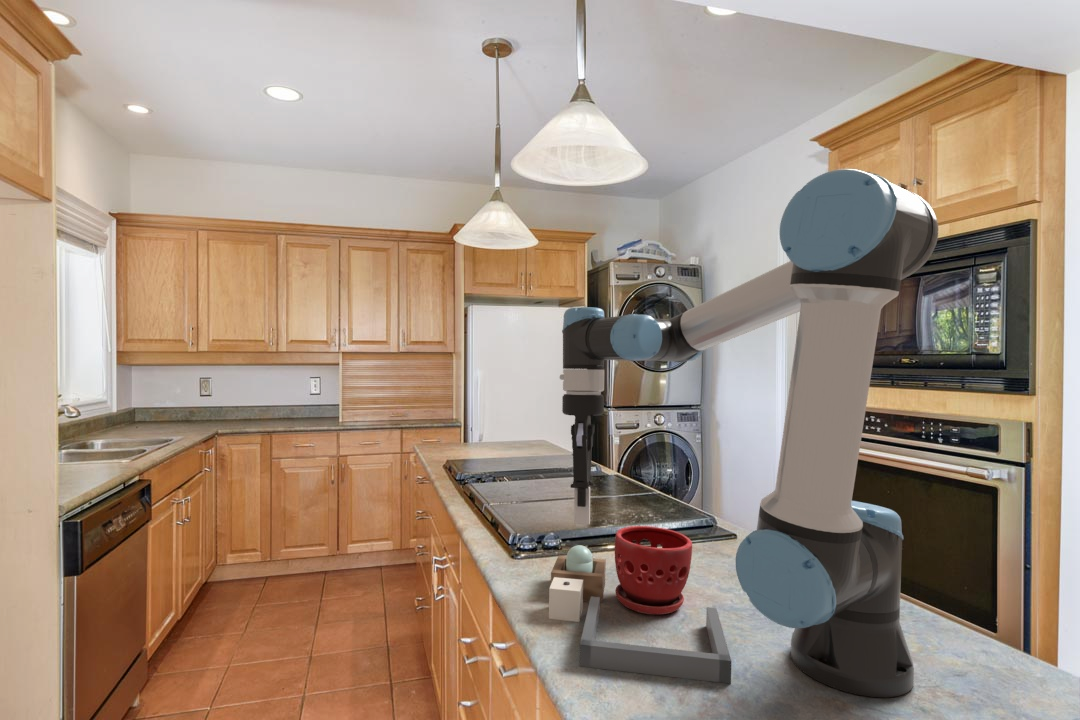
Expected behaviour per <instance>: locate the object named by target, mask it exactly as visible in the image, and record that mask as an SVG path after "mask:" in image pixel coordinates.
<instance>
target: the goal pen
mask: <svg viewBox="0 0 1080 720" xmlns="http://www.w3.org/2000/svg"><path fill="white" fill-rule="evenodd" d="M600 607H601V603H600V597H592V596H591V598H590V602H588V608H587V612H586V616H585V619H584V620H585V621H584V624H583V630H582V634H581V637H580V643H579V663H578V664H579V665H578V666H579V667H582V668H583V667H584V668H592V669H602V670H609V671H618V672H627V673H636V674H645V675H653V676H660V677H661V676H662V677H668V678H669V677H670V678H678V679H686V680H687V679H688V680H695V681H705V682H713V683H722V684H728V685H729V684H732V658H731V655H730V650H729V648H728V644H727V641H726V636H725V634H724V630H723V626H722V623H721V619H720V616H719V612H718V609H717V607H707V606H706V616H705V617H706V618H705V620H706V621H705V622H706V623H705V626H706V632H707V635H708V641H709V644H710V649H711V652H705V651H704V652H703V651H702V652H701V651H695V650H694V651H693V650H683V649H673V648H665V647H656V646H646V645H637V644H628V643H620V642H619V643H618V642H612V641H611V642H610V641H609V642H608V641H602V640H601V641H600V640H599V641H598V640H596V639H597V638H596V637H597V632H598V625H599V620H600V614H601V612H600Z"/></svg>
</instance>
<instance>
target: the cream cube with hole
mask: <svg viewBox="0 0 1080 720" xmlns="http://www.w3.org/2000/svg"><path fill="white" fill-rule="evenodd" d="M548 591H549V592H548V593H549V594H548V619H550V620H556V621H557V620H559V621H568V622H578V623H580V621H581V617H582V613H583V608H584V601H583V580H580V579H569V578H558V577H554V579H553V581H552V583H551V582H550V586H549V589H548Z"/></svg>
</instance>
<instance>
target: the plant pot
mask: <svg viewBox="0 0 1080 720" xmlns="http://www.w3.org/2000/svg"><path fill="white" fill-rule="evenodd" d="M614 537H615V539H614V541H615V542H614V564H615V571H616V576H617V579H618V581H619V584H618V585H616V588H615V595H616V598H617V599H618V601H619V602H620V603H621V604H622V605H624V607H626V608H628V609H630V610H632V611H635V612H637V613H640V614H646V615H666V614H670V613H673V612H676V611H677V610H679V608H681V606H682V605H683V603H684V601H685V597H684V595H683V593H682V592H683V591H684V588H685V587H686V584H687V581H688V578H689V574H690V569H691V564H692V554H693V542H692V540H691V539H690V538H689V537H688V536H686V535H685V534H683V533H680V532H679V531H675V530H672V529H668V528H667V529H666V528H662V527H657V526H649V525H647V526H646V525H645V526H644V525H635V526H633V525H632V526H627V527H622V528H620V529H618V530H617V531H616V534H615V536H614ZM643 540H648V541H649V542H650V546H645V545H641V542H642V541H643ZM634 541H635V543H633V542H634ZM658 546H661V547H658Z"/></svg>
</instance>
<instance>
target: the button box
mask: <svg viewBox="0 0 1080 720" xmlns="http://www.w3.org/2000/svg"><path fill="white" fill-rule="evenodd" d="M566 557H567V555H557V557H556V560H555V563H554V564H553V567H552V569H551V572H550V584H551V583H552V581H553V579H554V577H558V578H569V579H580V580H583V602H588V603H589V602H590V598H591V596H592V597H600V604H601V603H603V599H604V591H605V587H606V572H607V571H606V569H607V568H606V566H607V565H606V564H607V559H604V558H593V569H592V573H588V572H576V571H566Z"/></svg>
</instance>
